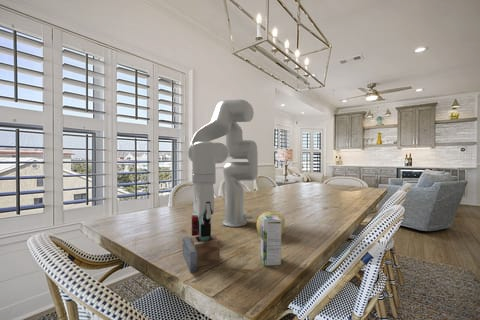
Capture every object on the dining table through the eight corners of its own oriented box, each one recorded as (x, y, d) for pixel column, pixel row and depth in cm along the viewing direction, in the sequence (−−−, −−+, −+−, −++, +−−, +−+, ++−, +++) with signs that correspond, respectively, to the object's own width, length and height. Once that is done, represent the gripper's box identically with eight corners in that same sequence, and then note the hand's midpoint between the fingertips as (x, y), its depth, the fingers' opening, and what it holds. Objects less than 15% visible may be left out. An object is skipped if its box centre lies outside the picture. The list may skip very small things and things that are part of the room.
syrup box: (260, 258, 78) (260, 215, 78) (277, 257, 78) (277, 214, 78) (263, 266, 72) (263, 219, 72) (282, 265, 73) (282, 219, 72)
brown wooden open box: (212, 252, 82) (212, 233, 82) (219, 262, 75) (219, 240, 75) (190, 256, 79) (189, 236, 79) (194, 266, 72) (194, 244, 72)
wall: (188, 253, 82) (188, 236, 82) (196, 271, 69) (196, 251, 69) (182, 254, 81) (182, 237, 81) (190, 272, 68) (190, 252, 68)
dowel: (207, 241, 79) (207, 209, 79) (210, 244, 76) (210, 211, 76) (198, 242, 78) (198, 210, 78) (200, 246, 75) (200, 212, 75)
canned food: (213, 237, 98) (213, 211, 98) (205, 243, 91) (205, 216, 91) (198, 235, 101) (197, 210, 101) (188, 241, 93) (188, 214, 93)
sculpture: (260, 242, 92) (260, 215, 92) (254, 232, 104) (254, 208, 104) (287, 240, 94) (287, 214, 94) (278, 231, 106) (278, 208, 106)
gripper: (188, 177, 83) (188, 228, 83) (198, 182, 68) (198, 244, 68) (208, 176, 86) (208, 226, 86) (222, 180, 70) (222, 241, 71)
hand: (204, 233), depth 77 cm, fingers closed on dowel, 3 cm apart
